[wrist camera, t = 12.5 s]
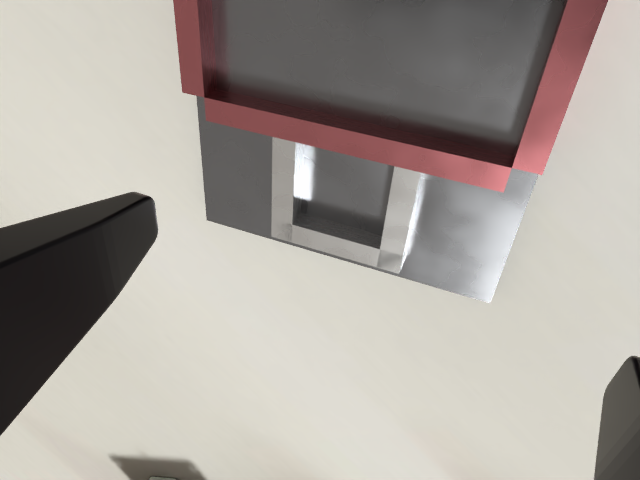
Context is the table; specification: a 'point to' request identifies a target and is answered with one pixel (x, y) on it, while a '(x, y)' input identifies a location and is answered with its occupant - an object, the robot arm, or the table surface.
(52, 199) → the table surface
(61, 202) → the table surface
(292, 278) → the table surface
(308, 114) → the fitting plate
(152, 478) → the metal bracket
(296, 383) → the table surface
